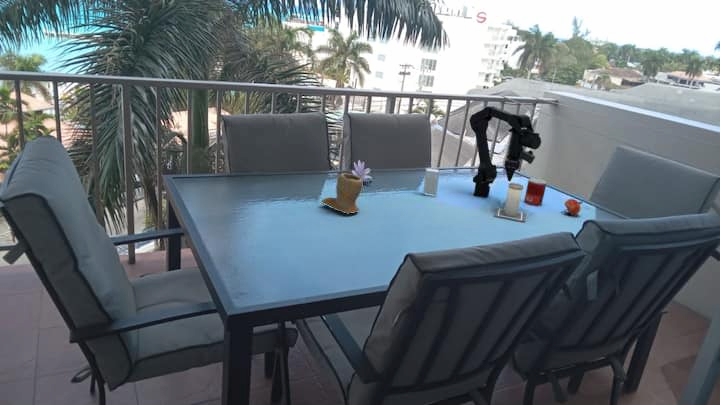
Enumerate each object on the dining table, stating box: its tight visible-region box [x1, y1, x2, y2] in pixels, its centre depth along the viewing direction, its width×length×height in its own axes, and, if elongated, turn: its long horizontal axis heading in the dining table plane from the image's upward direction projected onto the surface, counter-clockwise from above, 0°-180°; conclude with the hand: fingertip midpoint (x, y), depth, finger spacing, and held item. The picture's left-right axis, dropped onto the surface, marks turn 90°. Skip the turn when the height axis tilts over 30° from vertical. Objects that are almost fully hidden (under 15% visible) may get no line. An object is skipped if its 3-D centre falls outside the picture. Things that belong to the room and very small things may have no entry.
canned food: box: [524, 177, 547, 206], centre depth 225 cm, size 8×8×11 cm
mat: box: [493, 207, 527, 224], centre depth 207 cm, size 13×11×1 cm
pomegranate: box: [560, 198, 583, 216], centre depth 214 cm, size 7×7×10 cm
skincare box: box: [423, 168, 440, 196], centre depth 223 cm, size 6×4×12 cm
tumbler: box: [503, 182, 524, 217], centre depth 204 cm, size 6×6×13 cm
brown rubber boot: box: [320, 172, 364, 213], centre depth 194 cm, size 15×12×15 cm
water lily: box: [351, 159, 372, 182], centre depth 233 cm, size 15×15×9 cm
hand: (510, 178), depth 214 cm, fingers open, 9 cm apart
